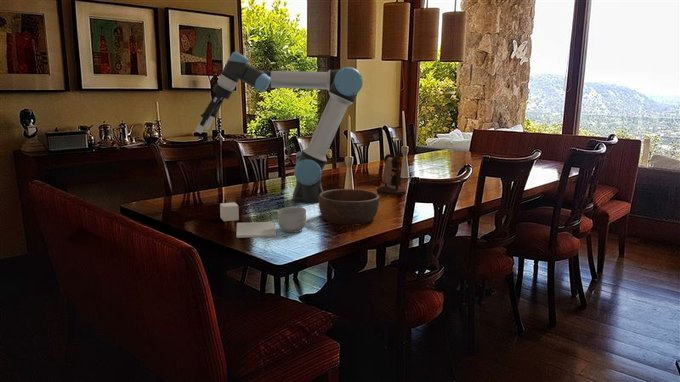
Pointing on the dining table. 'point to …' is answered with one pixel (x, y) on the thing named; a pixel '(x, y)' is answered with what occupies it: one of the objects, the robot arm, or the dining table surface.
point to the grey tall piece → (391, 176)
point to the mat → (255, 229)
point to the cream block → (229, 211)
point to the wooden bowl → (348, 206)
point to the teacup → (292, 219)
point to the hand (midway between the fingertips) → (201, 130)
